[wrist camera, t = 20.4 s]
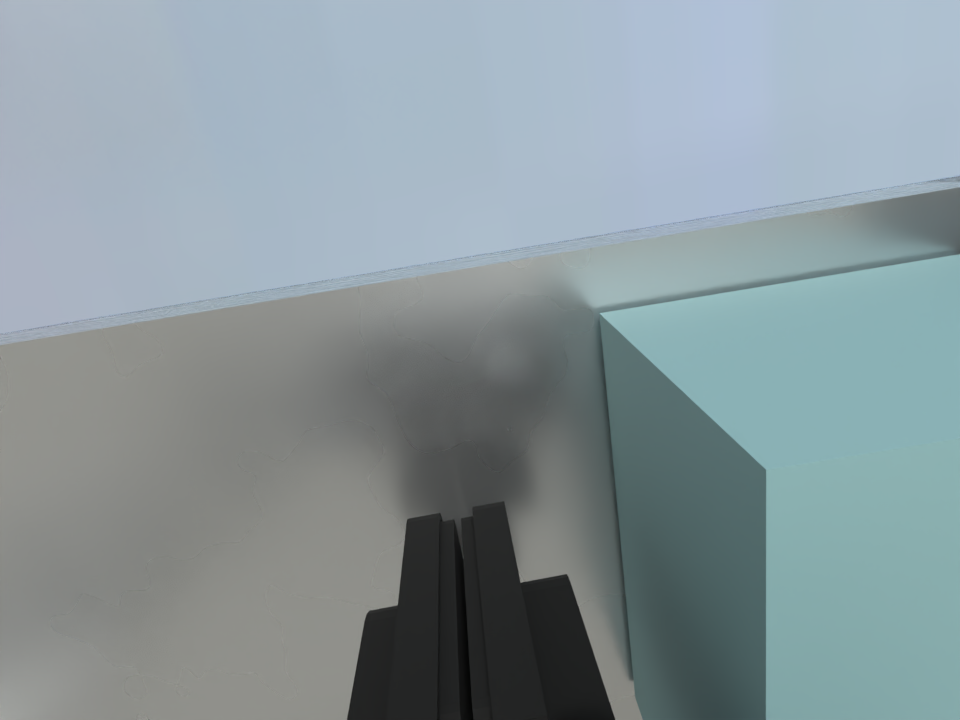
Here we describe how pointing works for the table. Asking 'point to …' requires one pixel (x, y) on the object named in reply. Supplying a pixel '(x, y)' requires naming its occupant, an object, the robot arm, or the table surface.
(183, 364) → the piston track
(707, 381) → the teal block
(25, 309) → the table surface
